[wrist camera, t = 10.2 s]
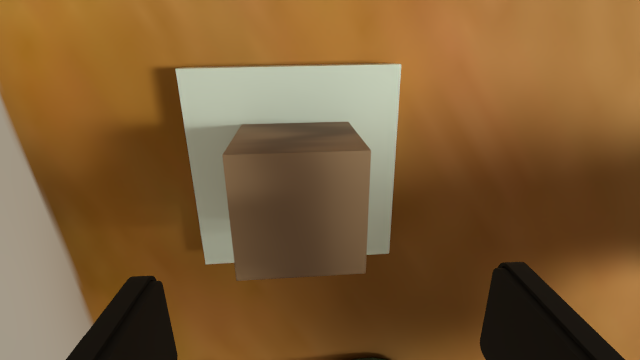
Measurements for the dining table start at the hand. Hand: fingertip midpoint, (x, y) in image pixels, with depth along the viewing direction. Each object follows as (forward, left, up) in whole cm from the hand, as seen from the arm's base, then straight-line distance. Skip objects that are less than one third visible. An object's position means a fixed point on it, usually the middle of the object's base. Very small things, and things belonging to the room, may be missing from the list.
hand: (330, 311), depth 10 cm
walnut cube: (+1, 0, -12) cm, 12 cm away
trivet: (+1, 0, -13) cm, 13 cm away
